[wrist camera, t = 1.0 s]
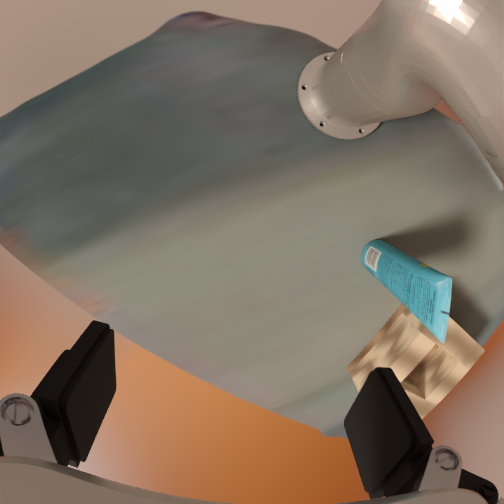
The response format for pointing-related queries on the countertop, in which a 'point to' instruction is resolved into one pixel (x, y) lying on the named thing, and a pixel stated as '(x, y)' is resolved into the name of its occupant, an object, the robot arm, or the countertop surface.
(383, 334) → the socket block
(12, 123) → the countertop surface
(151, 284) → the countertop surface
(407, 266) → the tube
